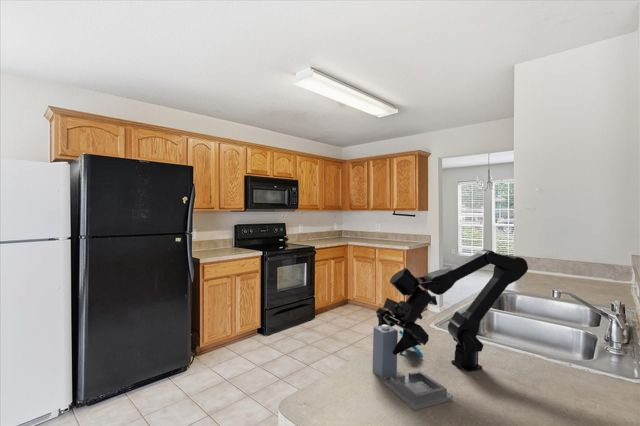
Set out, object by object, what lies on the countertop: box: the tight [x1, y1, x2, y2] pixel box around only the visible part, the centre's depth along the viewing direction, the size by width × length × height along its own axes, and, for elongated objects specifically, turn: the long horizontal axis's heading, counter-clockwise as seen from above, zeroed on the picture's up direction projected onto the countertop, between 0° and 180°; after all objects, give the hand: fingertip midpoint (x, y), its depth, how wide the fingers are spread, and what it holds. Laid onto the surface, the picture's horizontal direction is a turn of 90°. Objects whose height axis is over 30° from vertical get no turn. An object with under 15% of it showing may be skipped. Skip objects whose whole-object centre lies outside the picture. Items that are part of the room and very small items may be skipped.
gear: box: [398, 330, 423, 357], centre depth 106 cm, size 11×6×10 cm
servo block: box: [372, 325, 399, 380], centre depth 93 cm, size 5×5×14 cm
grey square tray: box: [384, 370, 454, 411], centre depth 83 cm, size 12×12×2 cm
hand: (383, 347), depth 92 cm, fingers open, 9 cm apart
